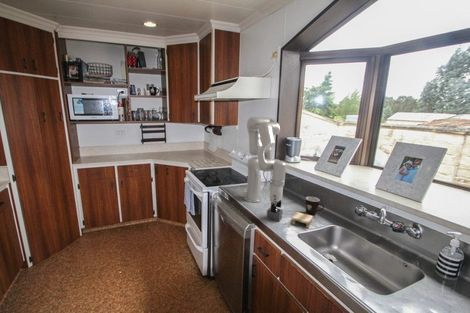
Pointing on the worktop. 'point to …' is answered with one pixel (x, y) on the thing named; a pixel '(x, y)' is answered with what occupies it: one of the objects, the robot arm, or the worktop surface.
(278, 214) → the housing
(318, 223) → the worktop surface
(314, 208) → the coffee mug
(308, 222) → the stand
